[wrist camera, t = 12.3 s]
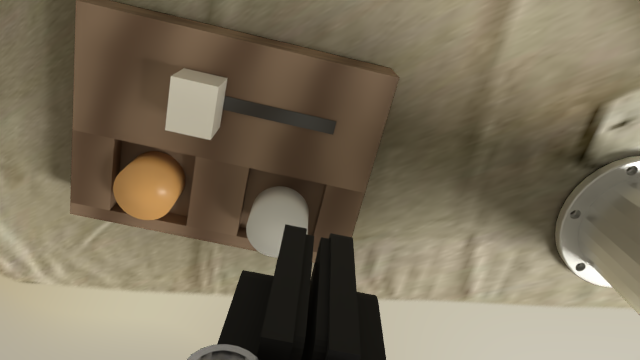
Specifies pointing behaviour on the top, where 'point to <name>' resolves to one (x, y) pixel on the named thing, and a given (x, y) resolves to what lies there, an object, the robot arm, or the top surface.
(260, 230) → the grey button
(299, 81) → the control panel
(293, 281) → the robot arm
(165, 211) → the orange button
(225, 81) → the slider knob
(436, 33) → the top surface
